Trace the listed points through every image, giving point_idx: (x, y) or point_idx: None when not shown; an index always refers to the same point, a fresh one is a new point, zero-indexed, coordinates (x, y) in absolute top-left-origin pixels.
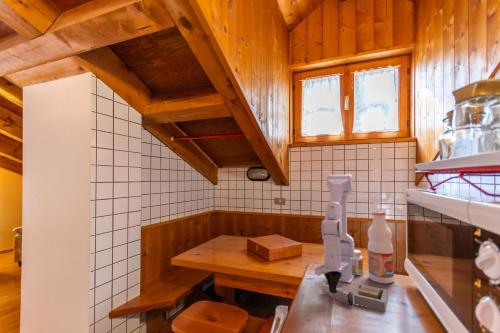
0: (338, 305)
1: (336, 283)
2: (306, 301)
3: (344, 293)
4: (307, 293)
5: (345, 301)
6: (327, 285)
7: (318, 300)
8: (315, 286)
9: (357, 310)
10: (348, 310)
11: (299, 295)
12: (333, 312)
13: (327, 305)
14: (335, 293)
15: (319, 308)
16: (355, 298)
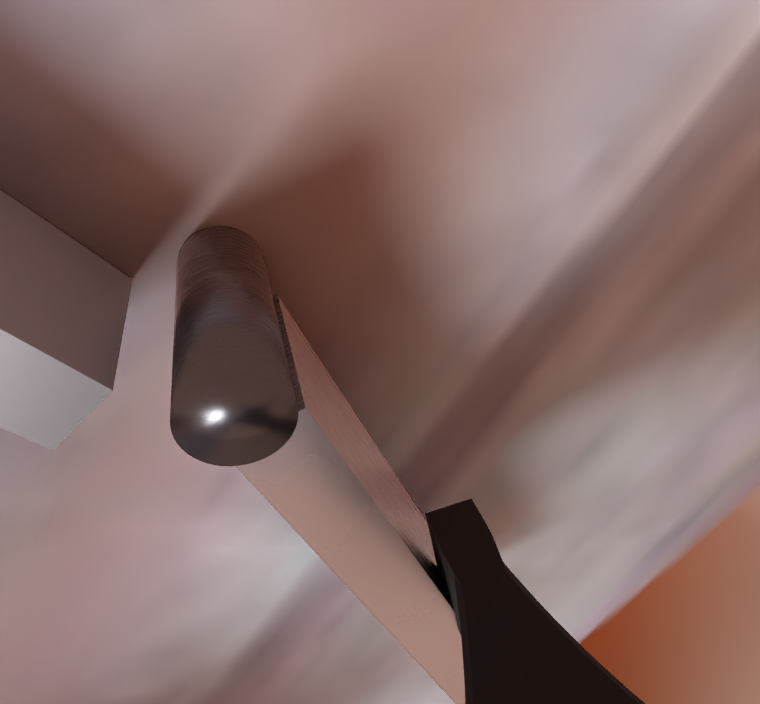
0: (448, 289)
1: (516, 695)
2: (741, 429)
3: (344, 453)
4: (598, 570)
5: (305, 340)
6: (457, 677)
7: (606, 439)
8: (416, 688)
9: (192, 29)
10: (390, 87)
11: (700, 536)
12: (682, 96)
13: (600, 314)
14: (407, 518)
15: (754, 257)
16: (91, 328)
